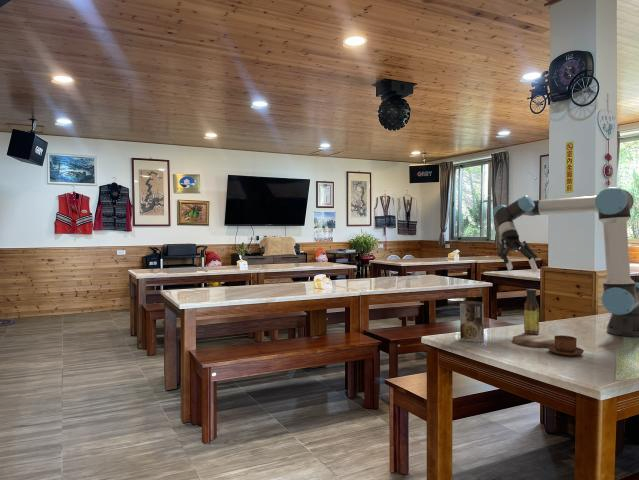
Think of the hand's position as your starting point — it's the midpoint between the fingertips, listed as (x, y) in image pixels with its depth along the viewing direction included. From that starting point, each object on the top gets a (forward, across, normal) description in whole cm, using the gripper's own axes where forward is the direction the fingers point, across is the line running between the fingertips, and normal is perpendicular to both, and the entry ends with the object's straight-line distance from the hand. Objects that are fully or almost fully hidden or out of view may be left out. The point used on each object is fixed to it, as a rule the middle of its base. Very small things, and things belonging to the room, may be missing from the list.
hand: (523, 270), depth 217 cm
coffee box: (+32, +32, -9) cm, 46 cm away
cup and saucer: (+47, +10, +15) cm, 50 cm away
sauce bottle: (+27, -2, -11) cm, 29 cm away
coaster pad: (+36, +10, +1) cm, 38 cm away
